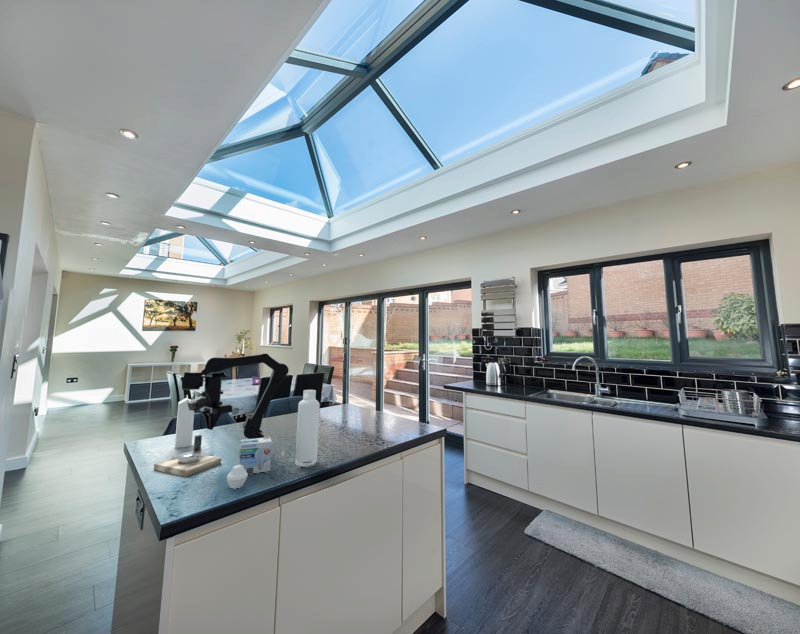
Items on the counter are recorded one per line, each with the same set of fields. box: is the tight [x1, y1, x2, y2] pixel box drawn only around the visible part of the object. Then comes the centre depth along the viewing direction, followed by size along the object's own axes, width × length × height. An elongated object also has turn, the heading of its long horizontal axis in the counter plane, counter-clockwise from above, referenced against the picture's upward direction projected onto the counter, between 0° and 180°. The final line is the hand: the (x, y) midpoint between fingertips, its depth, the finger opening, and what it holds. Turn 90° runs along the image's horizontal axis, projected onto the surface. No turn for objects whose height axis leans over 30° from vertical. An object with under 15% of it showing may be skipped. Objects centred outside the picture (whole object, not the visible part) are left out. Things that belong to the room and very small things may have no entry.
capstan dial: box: [177, 434, 203, 464], centre depth 123 cm, size 12×7×7 cm, turn 11°
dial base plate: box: [153, 453, 222, 478], centre depth 121 cm, size 17×14×2 cm
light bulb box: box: [238, 436, 273, 475], centre depth 119 cm, size 11×7×11 cm, turn 117°
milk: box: [174, 394, 195, 449], centre depth 146 cm, size 6×6×22 cm
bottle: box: [294, 389, 321, 466], centre depth 127 cm, size 8×8×28 cm
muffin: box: [225, 464, 248, 489], centre depth 105 cm, size 6×6×7 cm
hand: (209, 429), depth 128 cm, fingers closed
